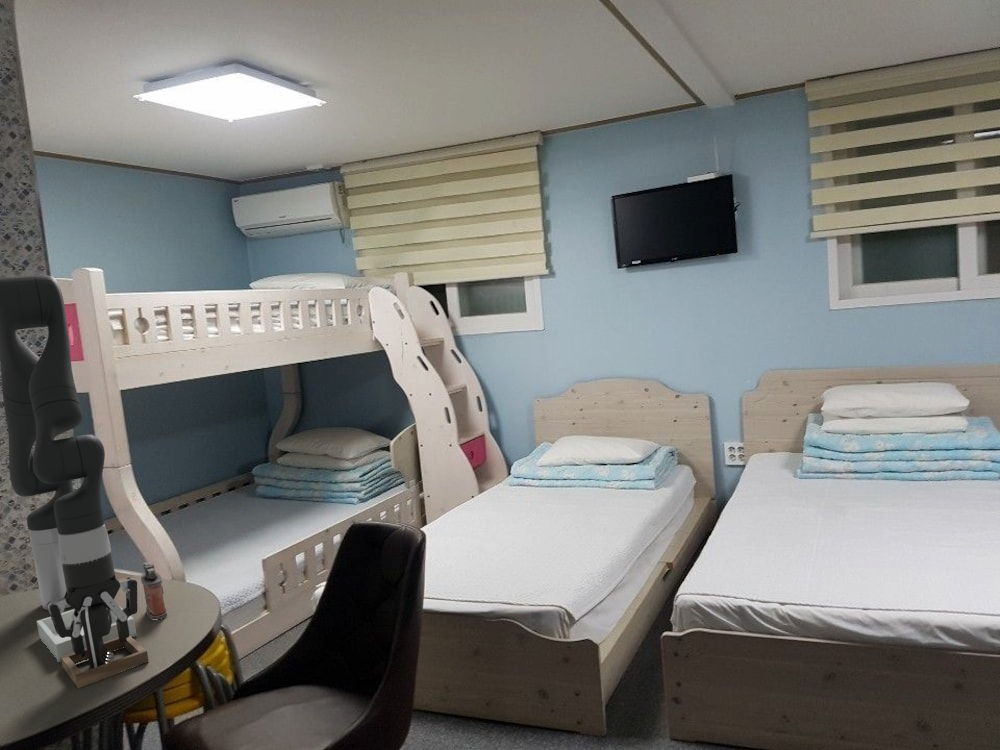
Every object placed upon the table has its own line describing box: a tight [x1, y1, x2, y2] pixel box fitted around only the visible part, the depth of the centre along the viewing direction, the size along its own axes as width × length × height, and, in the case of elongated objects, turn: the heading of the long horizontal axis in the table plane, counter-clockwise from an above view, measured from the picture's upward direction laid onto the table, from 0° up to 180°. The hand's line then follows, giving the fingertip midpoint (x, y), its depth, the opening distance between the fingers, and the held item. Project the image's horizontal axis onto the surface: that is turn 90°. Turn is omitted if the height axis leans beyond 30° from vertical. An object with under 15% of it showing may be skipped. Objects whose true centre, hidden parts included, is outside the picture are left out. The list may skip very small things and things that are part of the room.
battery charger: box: [81, 603, 115, 670], centre depth 137 cm, size 7×4×11 cm, turn 22°
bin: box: [36, 604, 138, 662], centre depth 150 cm, size 16×13×4 cm
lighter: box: [140, 561, 168, 620], centre depth 158 cm, size 8×3×10 cm, turn 34°
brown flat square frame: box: [61, 635, 149, 689], centre depth 137 cm, size 11×11×2 cm
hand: (102, 648), depth 137 cm, fingers open, 6 cm apart
